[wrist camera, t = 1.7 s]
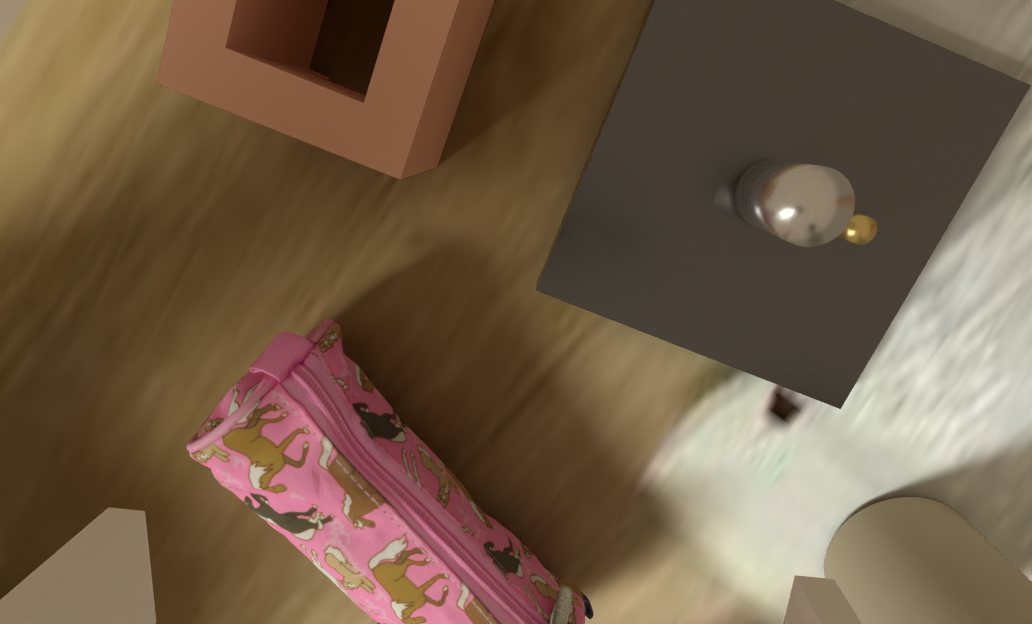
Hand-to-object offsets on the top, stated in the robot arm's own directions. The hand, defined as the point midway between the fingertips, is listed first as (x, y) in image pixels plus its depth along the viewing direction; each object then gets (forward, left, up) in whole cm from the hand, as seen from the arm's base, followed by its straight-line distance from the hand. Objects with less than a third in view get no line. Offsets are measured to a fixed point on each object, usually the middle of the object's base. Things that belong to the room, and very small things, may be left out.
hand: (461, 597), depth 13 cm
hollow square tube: (-11, +10, -20) cm, 25 cm away
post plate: (+8, +10, -20) cm, 24 cm away
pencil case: (-1, -11, -21) cm, 23 cm away
